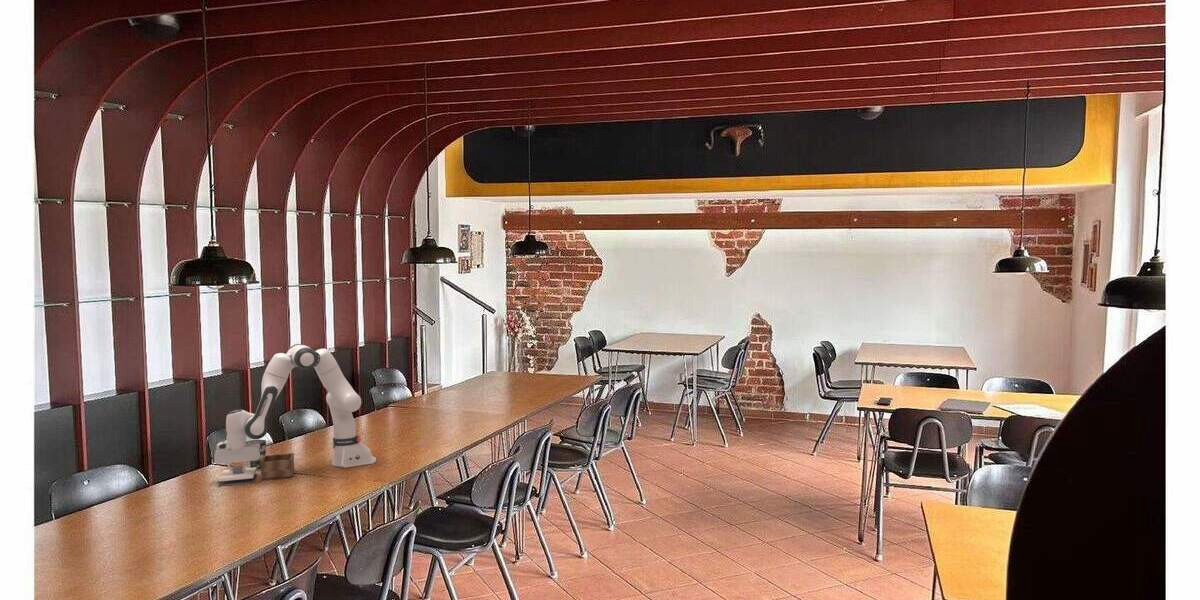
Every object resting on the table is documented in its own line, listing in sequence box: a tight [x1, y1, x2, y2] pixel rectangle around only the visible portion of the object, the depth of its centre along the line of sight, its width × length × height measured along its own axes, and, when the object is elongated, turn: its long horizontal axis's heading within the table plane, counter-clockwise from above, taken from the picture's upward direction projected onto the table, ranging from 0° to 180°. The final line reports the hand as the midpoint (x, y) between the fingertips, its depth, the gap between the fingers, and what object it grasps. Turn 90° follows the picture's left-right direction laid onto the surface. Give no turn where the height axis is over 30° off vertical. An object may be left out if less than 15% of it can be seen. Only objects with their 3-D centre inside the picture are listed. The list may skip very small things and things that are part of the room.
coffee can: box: [246, 439, 267, 472], centre depth 399 cm, size 10×10×14 cm
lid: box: [218, 464, 258, 482], centre depth 378 cm, size 15×15×4 cm
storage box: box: [260, 452, 295, 481], centre depth 385 cm, size 14×14×9 cm
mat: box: [217, 473, 259, 487], centre depth 378 cm, size 16×16×1 cm
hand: (238, 470), depth 378 cm, fingers closed on lid, 4 cm apart
